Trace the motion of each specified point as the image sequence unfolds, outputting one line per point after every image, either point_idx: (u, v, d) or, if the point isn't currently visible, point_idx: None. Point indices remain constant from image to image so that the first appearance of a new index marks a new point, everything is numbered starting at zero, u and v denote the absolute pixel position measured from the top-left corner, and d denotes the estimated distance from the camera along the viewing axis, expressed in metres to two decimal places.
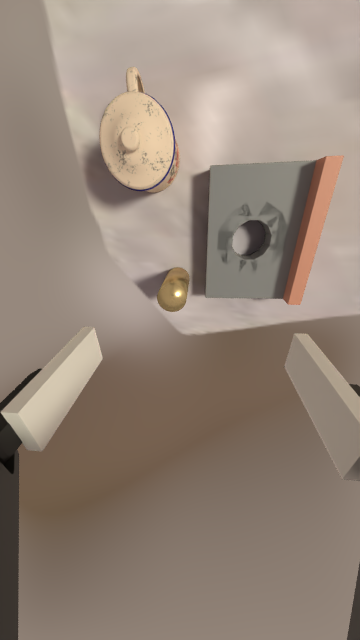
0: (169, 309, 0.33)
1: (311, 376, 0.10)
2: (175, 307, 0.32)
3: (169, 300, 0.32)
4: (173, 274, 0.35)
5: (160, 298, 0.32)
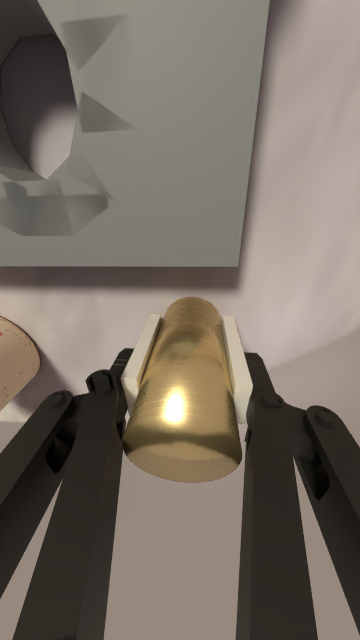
0: (229, 463, 0.08)
1: (225, 348, 0.13)
2: (221, 448, 0.07)
3: (188, 459, 0.08)
4: None
5: (181, 475, 0.09)
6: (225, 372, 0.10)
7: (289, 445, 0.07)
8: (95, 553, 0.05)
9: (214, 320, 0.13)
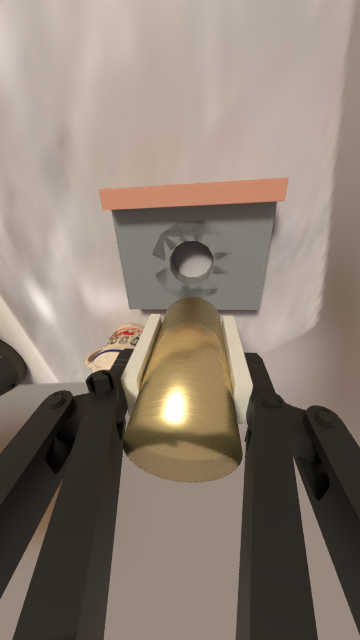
0: (230, 463, 0.08)
1: (225, 348, 0.13)
2: (222, 448, 0.07)
3: (188, 459, 0.08)
4: None
5: (181, 475, 0.09)
6: (225, 372, 0.10)
7: (289, 445, 0.07)
8: (96, 553, 0.05)
9: (214, 320, 0.13)
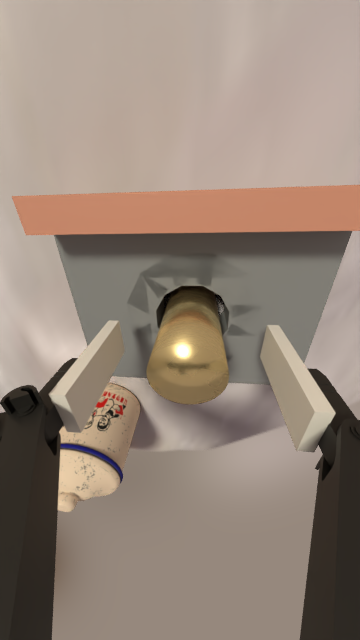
0: (221, 383, 0.11)
1: (278, 362, 0.11)
2: (215, 370, 0.11)
3: (192, 381, 0.11)
4: None
5: (187, 398, 0.12)
6: (218, 328, 0.13)
7: None
8: (28, 570, 0.05)
9: (210, 296, 0.17)
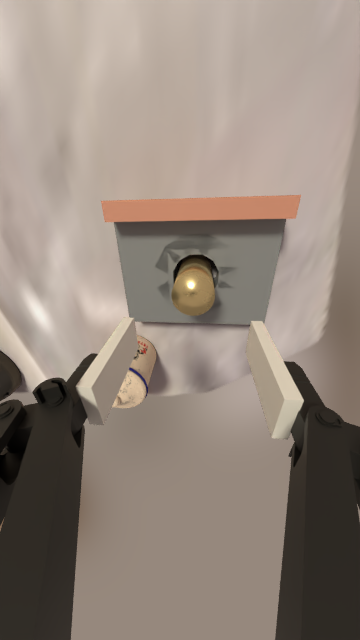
0: (210, 300, 0.21)
1: (258, 356, 0.12)
2: (207, 291, 0.21)
3: (195, 299, 0.21)
4: None
5: (192, 311, 0.22)
6: (210, 275, 0.23)
7: (349, 471, 0.06)
8: (53, 560, 0.05)
9: (207, 262, 0.27)
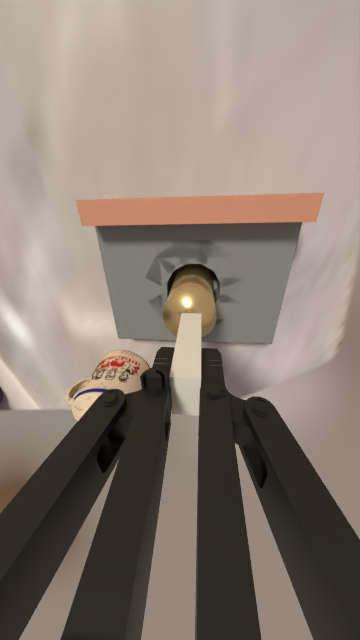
0: (211, 322, 0.17)
1: None
2: (207, 312, 0.17)
3: None
4: None
5: None
6: (211, 290, 0.19)
7: (232, 431, 0.07)
8: (141, 559, 0.05)
9: (206, 273, 0.23)
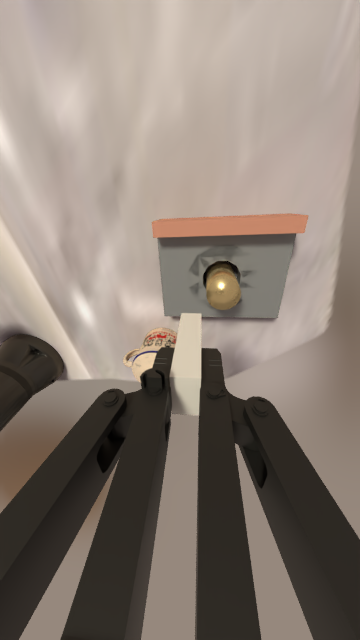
0: (237, 297, 0.27)
1: None
2: (235, 290, 0.27)
3: (225, 297, 0.27)
4: (206, 283, 0.32)
5: (222, 306, 0.28)
6: (235, 278, 0.29)
7: (232, 430, 0.07)
8: (142, 559, 0.05)
9: (230, 267, 0.33)
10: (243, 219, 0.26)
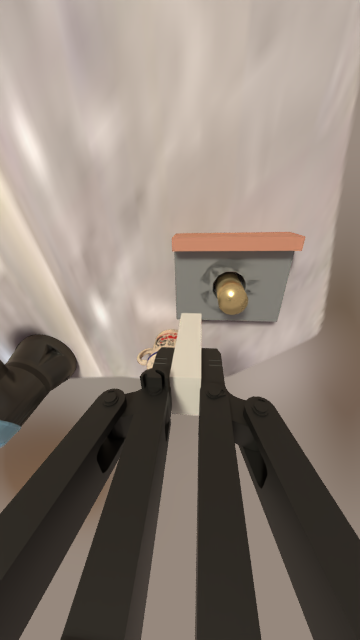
0: (245, 304, 0.32)
1: None
2: (243, 298, 0.31)
3: (234, 303, 0.32)
4: (216, 290, 0.37)
5: (231, 311, 0.33)
6: None
7: (232, 431, 0.07)
8: (142, 559, 0.05)
9: (237, 276, 0.37)
10: (251, 238, 0.31)
